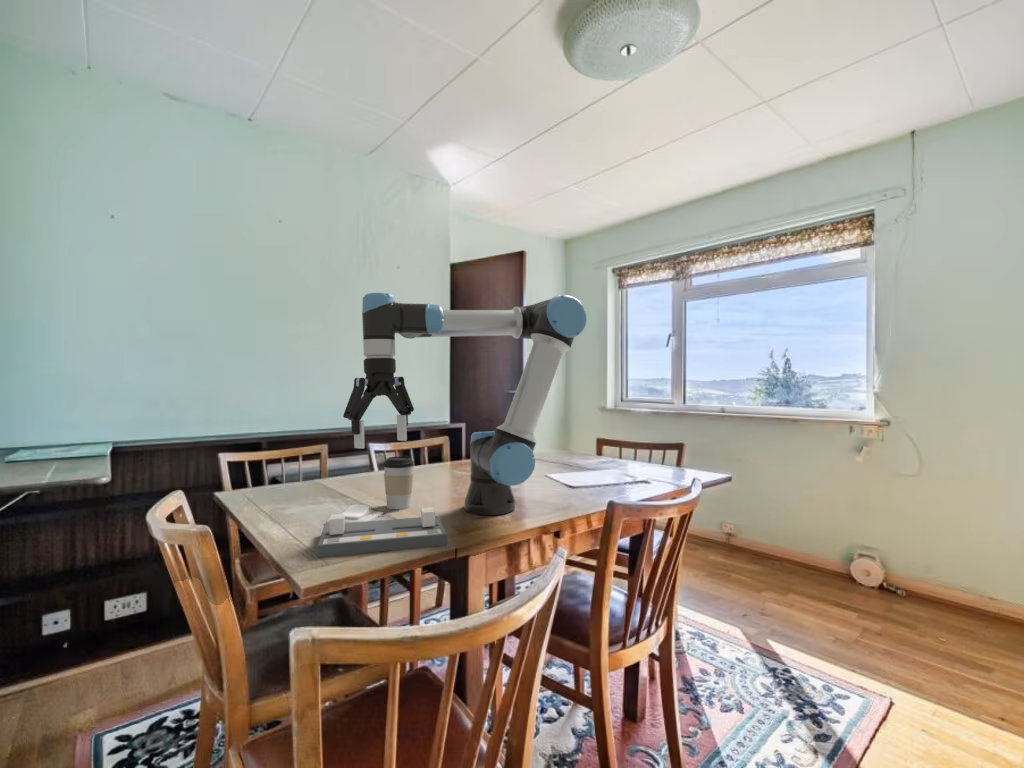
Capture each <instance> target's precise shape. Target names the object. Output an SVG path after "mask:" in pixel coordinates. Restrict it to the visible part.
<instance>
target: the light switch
mask: <svg viewBox="0 0 1024 768" xmlns="http://www.w3.org/2000/svg"><path fill="white" fill-rule="evenodd" d="M340 514H345V523H353V522H366V521H375V520H376V519H377V518H379V517H380V516H382V515H383V514H384V512H383V511H377V510H376V511H374V510H372V509H371V508H370V506H369V505H368V504H358V503H357V504H351V505H349V506H348V507H347V508H346V509H345V511H343V512H341V513H340ZM381 514H382V515H381ZM378 516H379V517H378ZM375 518H376V519H375ZM374 519H375V520H374ZM327 524H330V518H328V519H326V520H325V525H327Z"/></svg>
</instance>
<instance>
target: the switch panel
mask: <svg viewBox="0 0 1024 768" xmlns="http://www.w3.org/2000/svg"><path fill="white" fill-rule="evenodd" d="M447 535H448V534H447V532H446V529H445V527H444V525H443V524H442V521H441V519H440V517H439V515H435V526H430V527H422V524H421V516H420V517H418V516H417V517H409V518H408V517H406V518H405V517H404V518H395V519H383V520H382V519H381V520H380V519H379V520H373V521H366V522H353V523H345V529H344V534H334V535H330V524H324V525H323V527H322V531H321V535H320V538H319V540H318V542H317V558H323V557H334V556H343V555H345V554H346V555H355V554H364V553H377V552H384V551H385V552H386V551H387V552H388V551H397V550H407V549H417V548H429V547H438V546H437V545H440V546H447V545H448V544H447V543H448V542H447V541H448V539H447V538H448V537H447ZM446 544H447V545H446ZM346 555H345V556H346Z"/></svg>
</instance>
